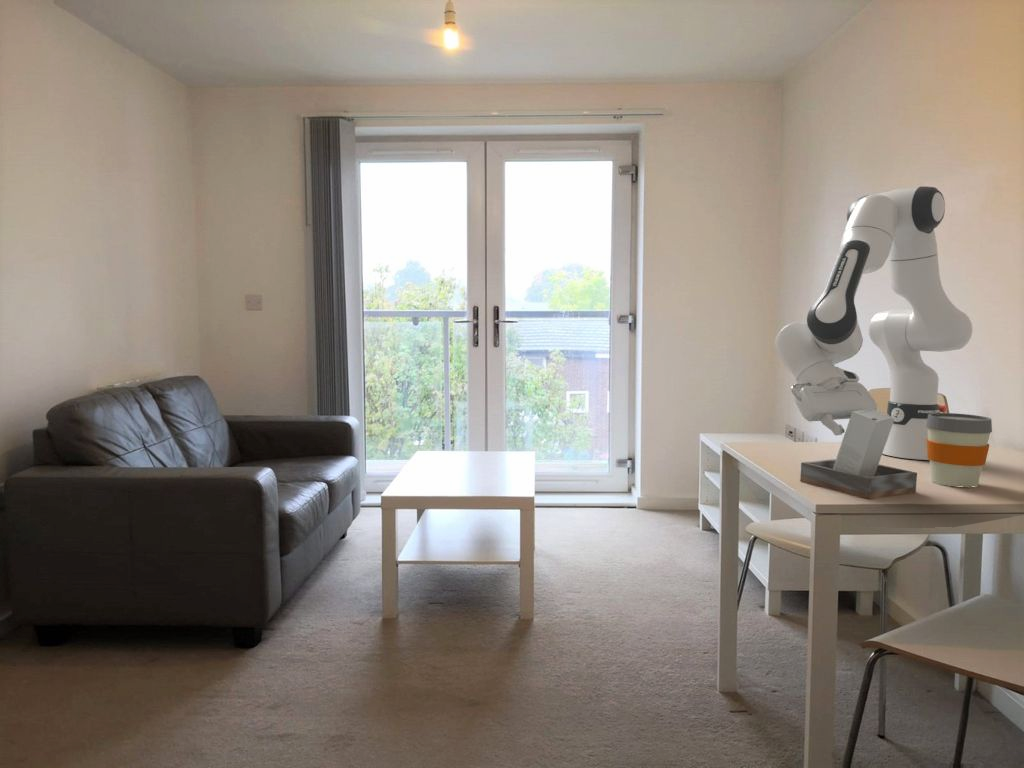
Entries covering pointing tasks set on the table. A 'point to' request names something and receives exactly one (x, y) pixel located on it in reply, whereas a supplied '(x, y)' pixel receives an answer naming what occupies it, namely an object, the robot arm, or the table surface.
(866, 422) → the skincare box
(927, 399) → the robot arm
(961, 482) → the reusable coffee cup
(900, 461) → the table surface
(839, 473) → the open storage bin
